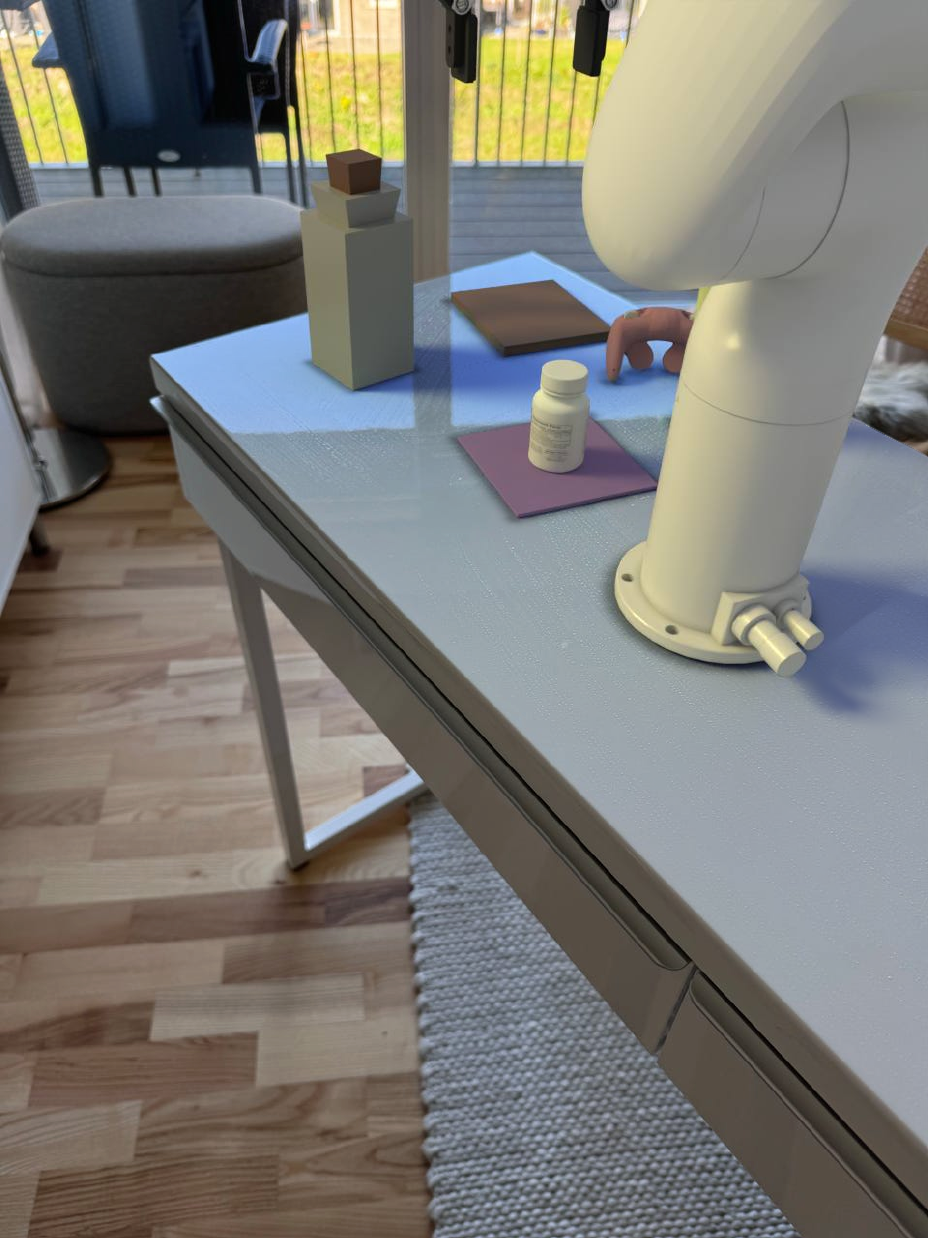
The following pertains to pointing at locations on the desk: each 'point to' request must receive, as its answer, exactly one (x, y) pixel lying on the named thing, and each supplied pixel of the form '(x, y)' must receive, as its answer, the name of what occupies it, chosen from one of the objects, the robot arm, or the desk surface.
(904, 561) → the desk surface
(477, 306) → the board
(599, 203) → the robot arm
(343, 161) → the perfume bottle
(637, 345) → the video game controller
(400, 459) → the desk surface
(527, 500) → the purple square plate
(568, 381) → the pill bottle
